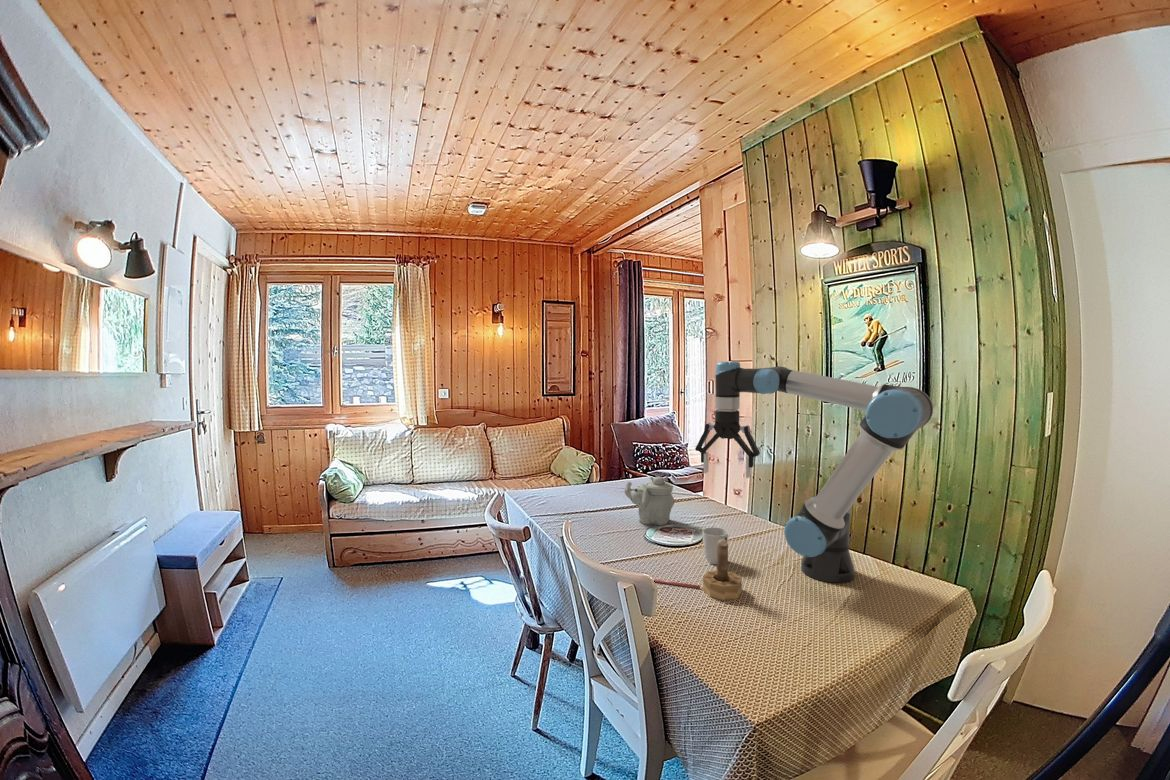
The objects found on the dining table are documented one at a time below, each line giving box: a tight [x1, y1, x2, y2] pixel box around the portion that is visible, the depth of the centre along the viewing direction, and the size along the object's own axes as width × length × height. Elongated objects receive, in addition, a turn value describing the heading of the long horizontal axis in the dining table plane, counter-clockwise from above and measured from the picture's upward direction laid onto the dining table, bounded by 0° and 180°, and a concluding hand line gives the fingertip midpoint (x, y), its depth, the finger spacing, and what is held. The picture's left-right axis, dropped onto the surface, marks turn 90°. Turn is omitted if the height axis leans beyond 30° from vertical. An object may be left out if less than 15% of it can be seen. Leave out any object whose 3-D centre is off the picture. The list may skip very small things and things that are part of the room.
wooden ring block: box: [702, 569, 743, 601], centre depth 153 cm, size 10×10×4 cm
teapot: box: [623, 475, 675, 526], centre depth 214 cm, size 16×15×19 cm
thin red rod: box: [653, 578, 701, 589], centre depth 158 cm, size 14×1×1 cm, turn 70°
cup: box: [702, 527, 729, 565], centre depth 174 cm, size 8×8×10 cm
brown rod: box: [716, 539, 729, 582], centre depth 153 cm, size 3×3×15 cm
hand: (726, 474), depth 172 cm, fingers open, 13 cm apart
